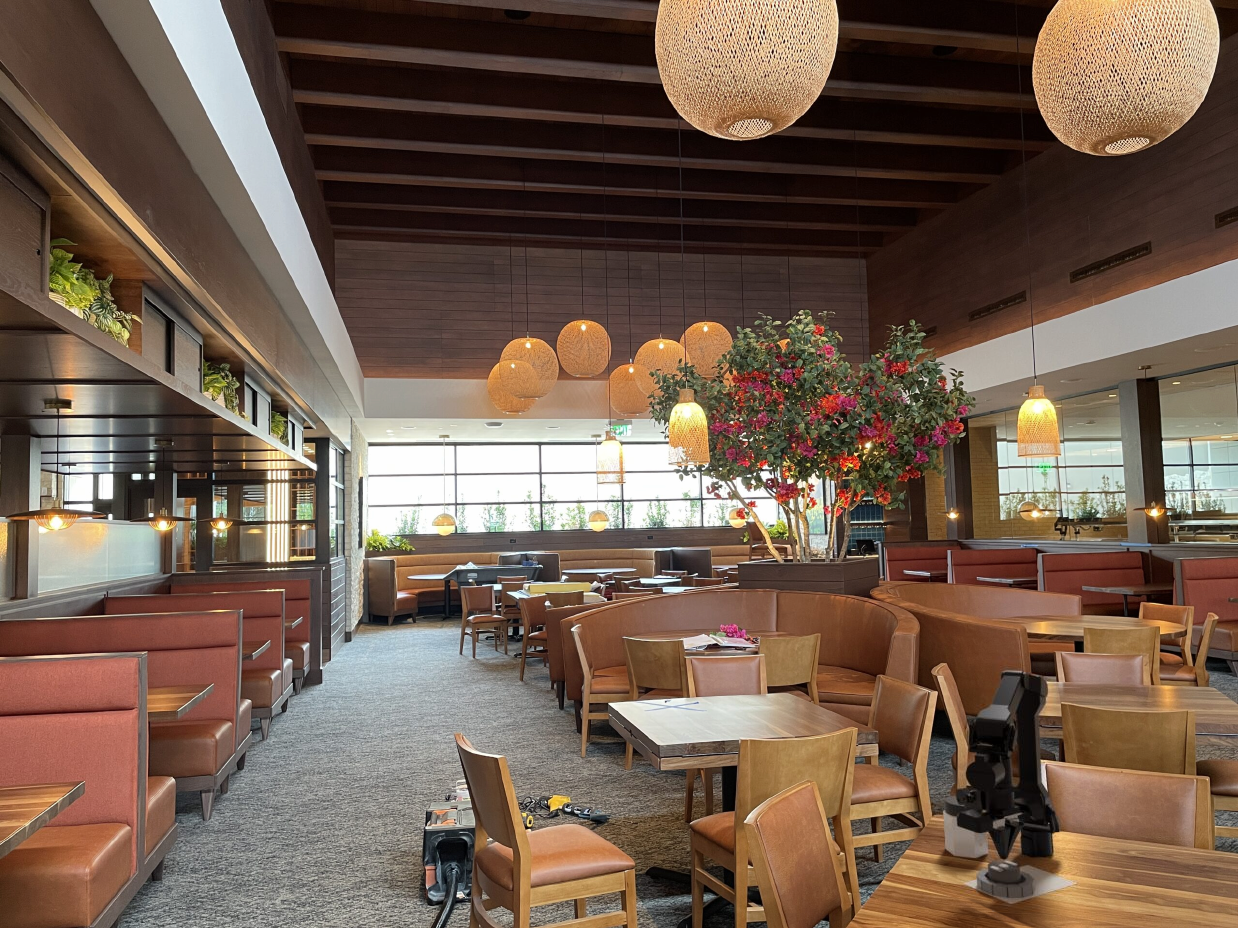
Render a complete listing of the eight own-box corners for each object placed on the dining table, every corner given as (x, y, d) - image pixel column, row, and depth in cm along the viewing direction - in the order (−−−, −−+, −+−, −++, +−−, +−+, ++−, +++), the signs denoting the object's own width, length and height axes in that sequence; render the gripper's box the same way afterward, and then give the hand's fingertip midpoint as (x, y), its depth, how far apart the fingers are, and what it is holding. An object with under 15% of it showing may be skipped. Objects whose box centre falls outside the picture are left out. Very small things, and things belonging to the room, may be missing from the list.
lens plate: (1028, 869, 192) (1027, 855, 192) (1078, 888, 181) (1077, 872, 181) (963, 888, 183) (962, 872, 184) (1011, 908, 172) (1010, 892, 173)
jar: (970, 864, 196) (966, 808, 197) (939, 854, 202) (935, 800, 203) (995, 855, 200) (991, 800, 201) (963, 845, 207) (959, 792, 208)
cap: (1002, 878, 184) (1000, 857, 185) (1028, 887, 179) (1026, 866, 180) (982, 885, 181) (981, 864, 182) (1008, 895, 176) (1007, 873, 177)
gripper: (998, 764, 193) (1003, 838, 192) (933, 777, 185) (938, 855, 184) (1042, 775, 183) (1048, 854, 182) (976, 790, 175) (982, 872, 174)
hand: (1003, 858), depth 181 cm, fingers closed
